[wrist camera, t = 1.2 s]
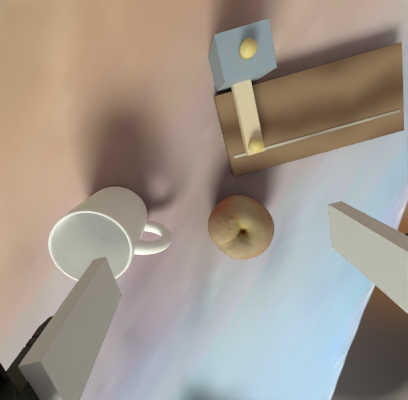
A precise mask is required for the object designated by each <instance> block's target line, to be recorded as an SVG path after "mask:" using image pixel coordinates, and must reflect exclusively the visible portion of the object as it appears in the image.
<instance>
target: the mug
mask: <svg viewBox="0 0 408 400" xmlns="http://www.w3.org/2000/svg"><path fill="white" fill-rule="evenodd" d="M147 219H148V215H147V209H146V206H145V204H144V202H143V201H142V199H141V198H140V197H139V196H138V195H137V194H136V193H134V192H133V191H131V190H129V189H127V188H123V187H108V188H104V189H102V190H100V191H98V192H96V193H95V194H93V195H92V196H91V197H89V198H88V199H86V200H85V201H84V202H82V203H81V204H79V205H78V206H77V207H75V208H74V209H73V210H71V211H70V212H68V213H67V214H66V215H64V216H63V217H62V218H60V219H59V220H58V221H57V222H56V223H55V225H54V226H53V227H52V230H51V232H50V235H49V240H48V247H49V252H50V255H51V258H52V260H53V261H54V263H55V264H56V266H57V267H58V268H59V269H60V270H61V271H62V272H63V273H64V274H66V275H67V276H69V277H70V278H72V279H75V280H77V281H79V279H80V278H81V276H82V275H83V273H84V272H85V271H86V269H87V268H88V266H89V265H90V264H91V262H92V261H93V260H94V259H98V258H102V257H106V258H107V261H108V263H109V265H110V268H111V270H112V273H113V275H114V278H115V279H116V278H117V277H119V276H120V275H121V274H122V273H124V272H125V270H126V269H127V268H128V266H129V264H130V262H131V260H132V257H133V255H134V254H140V255H146V254H154V253H158V252H161V251H163V250H165V249H166V248H167V247H168V246H169V245H170V243H171V241H172V234H171V232H170V230H169V229H168V228H167V227H165V226H164V225H162V224H159V223H156V222H153V221H148V220H147ZM144 231H148V232H153V233H157V234H159V235H160V236H161V238H160V239H159V240H155V241H142V240H140V239H141V237H142V235H143V232H144Z"/></svg>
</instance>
